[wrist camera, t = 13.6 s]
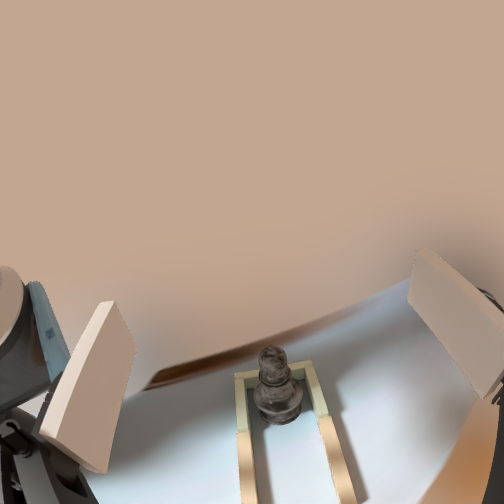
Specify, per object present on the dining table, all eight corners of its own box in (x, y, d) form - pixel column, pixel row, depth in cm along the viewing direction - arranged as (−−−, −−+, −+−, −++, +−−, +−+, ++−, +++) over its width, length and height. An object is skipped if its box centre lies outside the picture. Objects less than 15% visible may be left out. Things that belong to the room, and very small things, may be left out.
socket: (327, 422, 27) (328, 412, 26) (241, 437, 27) (237, 429, 26) (311, 370, 35) (311, 359, 34) (237, 383, 35) (234, 372, 34)
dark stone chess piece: (283, 383, 34) (274, 318, 29) (313, 407, 29) (314, 344, 24) (248, 406, 31) (228, 344, 26) (276, 435, 27) (264, 379, 21)
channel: (355, 508, 16) (358, 506, 15) (246, 528, 16) (243, 527, 15) (329, 421, 27) (330, 415, 26) (238, 437, 27) (236, 432, 26)
